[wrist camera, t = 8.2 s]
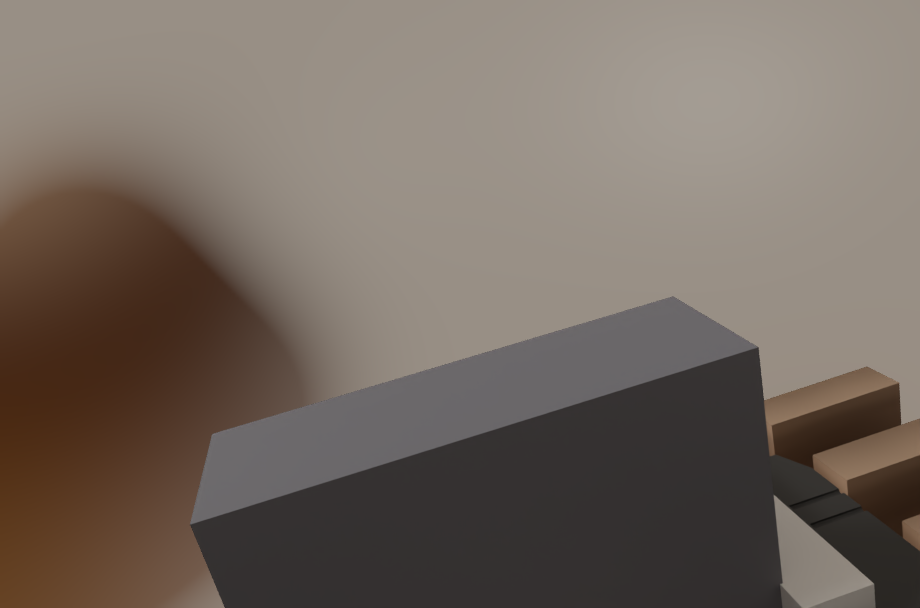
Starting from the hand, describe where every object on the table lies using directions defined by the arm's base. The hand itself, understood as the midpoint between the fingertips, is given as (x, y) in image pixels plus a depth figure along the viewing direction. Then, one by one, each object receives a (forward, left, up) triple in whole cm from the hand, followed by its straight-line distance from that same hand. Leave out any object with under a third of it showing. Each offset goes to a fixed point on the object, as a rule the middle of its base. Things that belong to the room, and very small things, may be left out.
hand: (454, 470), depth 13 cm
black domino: (0, -5, -6) cm, 8 cm away
